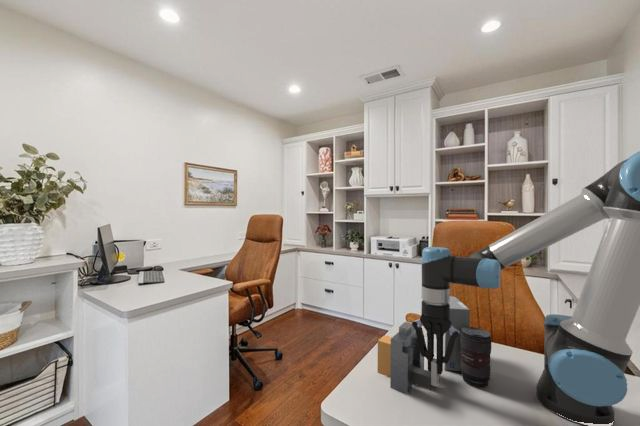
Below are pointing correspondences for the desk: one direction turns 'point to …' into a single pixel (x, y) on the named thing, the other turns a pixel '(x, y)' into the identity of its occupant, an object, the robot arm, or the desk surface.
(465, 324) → the hard drive box
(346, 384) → the desk surface
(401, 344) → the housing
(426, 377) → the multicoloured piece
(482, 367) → the camera lens
